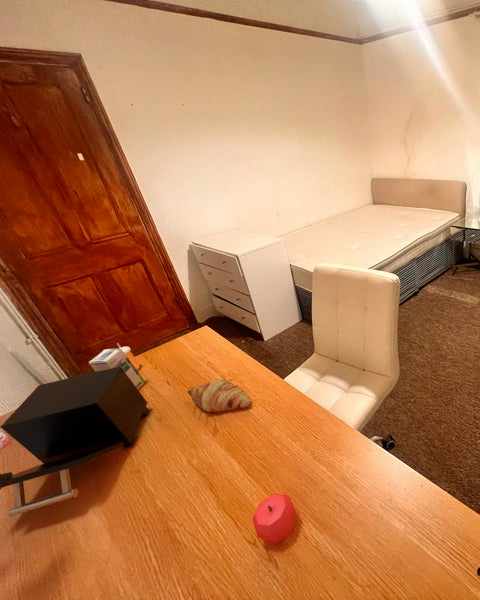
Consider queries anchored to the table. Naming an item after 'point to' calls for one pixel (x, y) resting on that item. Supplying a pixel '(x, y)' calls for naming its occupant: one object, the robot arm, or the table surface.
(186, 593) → the table surface
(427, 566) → the table surface
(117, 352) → the syrup box
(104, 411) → the oven
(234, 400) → the croissant
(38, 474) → the oven door
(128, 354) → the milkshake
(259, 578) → the table surface
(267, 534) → the apple
